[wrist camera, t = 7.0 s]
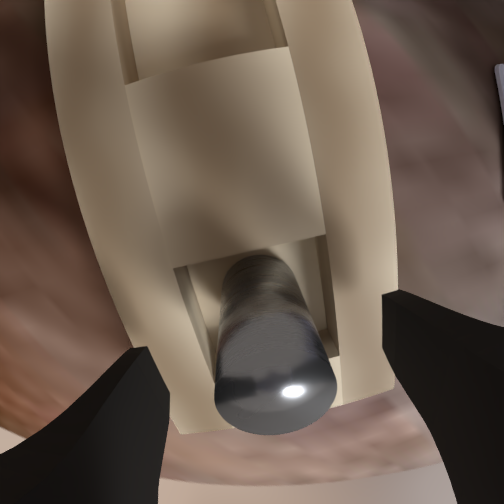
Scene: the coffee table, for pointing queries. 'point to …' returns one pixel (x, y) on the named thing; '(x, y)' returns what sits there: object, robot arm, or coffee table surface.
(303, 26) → the tool board
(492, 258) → the coffee table surface
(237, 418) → the grey cylinder
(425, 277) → the coffee table surface
